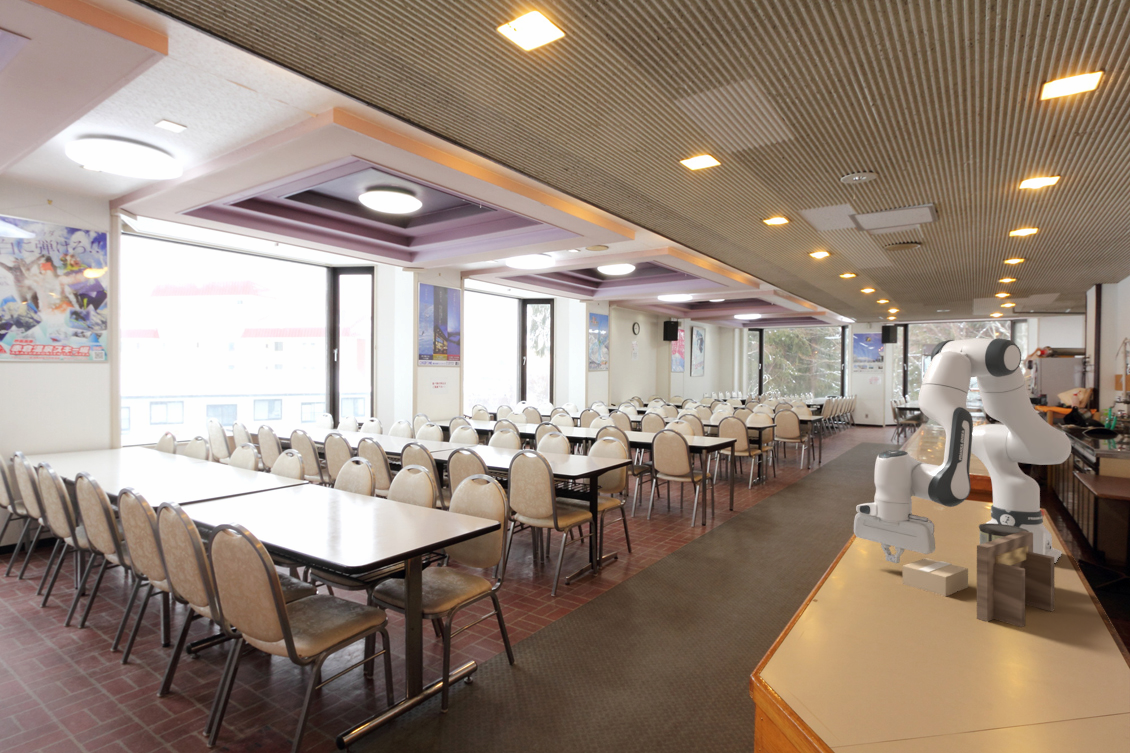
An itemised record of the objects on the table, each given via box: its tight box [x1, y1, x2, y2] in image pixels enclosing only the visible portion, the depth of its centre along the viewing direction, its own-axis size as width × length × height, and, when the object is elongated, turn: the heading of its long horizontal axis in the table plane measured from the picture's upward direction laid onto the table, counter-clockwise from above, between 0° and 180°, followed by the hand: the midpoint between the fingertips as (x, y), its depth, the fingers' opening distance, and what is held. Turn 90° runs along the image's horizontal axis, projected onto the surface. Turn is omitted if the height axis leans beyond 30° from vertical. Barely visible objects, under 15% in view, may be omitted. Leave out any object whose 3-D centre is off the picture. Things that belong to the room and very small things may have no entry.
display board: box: [976, 531, 1055, 628], centre depth 129 cm, size 24×7×16 cm, turn 122°
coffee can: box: [978, 522, 1029, 545], centre depth 148 cm, size 10×10×14 cm
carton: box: [902, 557, 969, 597], centre depth 145 cm, size 12×10×5 cm
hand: (892, 561), depth 154 cm, fingers closed
